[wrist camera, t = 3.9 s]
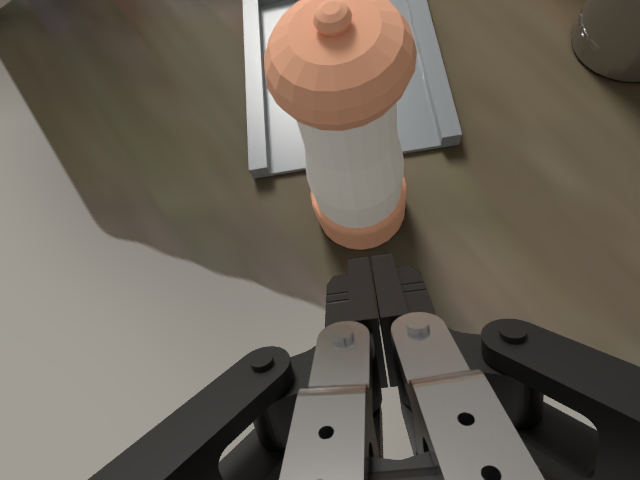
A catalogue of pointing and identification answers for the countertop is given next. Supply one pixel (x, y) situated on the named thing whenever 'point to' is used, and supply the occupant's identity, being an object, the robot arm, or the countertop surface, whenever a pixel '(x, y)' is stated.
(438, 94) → the tray
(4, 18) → the countertop surface
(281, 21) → the pepper shaker
